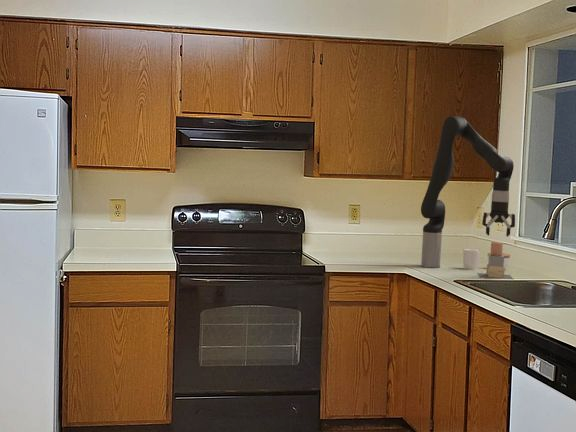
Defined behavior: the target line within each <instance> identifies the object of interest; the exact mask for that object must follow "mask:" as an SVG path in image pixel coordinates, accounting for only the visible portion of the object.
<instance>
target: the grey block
mask: <svg viewBox="0 0 576 432" xmlns="http://www.w3.org/2000/svg"><path fill="white" fill-rule="evenodd" d="M487 264H489V265H490V266H500V267H504V256H503V255H502V256H491V255H490V254H489V261H488V260H487Z"/></svg>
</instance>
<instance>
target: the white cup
mask: <svg viewBox="0 0 576 432" xmlns="http://www.w3.org/2000/svg"><path fill="white" fill-rule="evenodd" d="M462 251H463V252H462V253H463V255H462V264H463V265H462V266H463V269H465V270H473V271H476V270H478V269H479V263H480V255H481V254H480V253H481V250H480V249H476V248H464V249H463V250H462Z"/></svg>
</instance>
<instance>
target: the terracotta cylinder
mask: <svg viewBox="0 0 576 432" xmlns="http://www.w3.org/2000/svg"><path fill="white" fill-rule="evenodd" d="M503 247H504V243H503V242H500V241H491V242H490V252H489V253H490V255H491V256H502V253H503V249H504V248H503Z"/></svg>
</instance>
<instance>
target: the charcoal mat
mask: <svg viewBox="0 0 576 432" xmlns="http://www.w3.org/2000/svg"><path fill="white" fill-rule="evenodd" d="M476 274H477V275H478V277H479V278H483V279H495V280H496V279H498V280H499V279H501V280H515V279H514V278H513V276H511V274H504V278H499V277H488V276H487V275H486V273H482V272H476Z"/></svg>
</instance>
